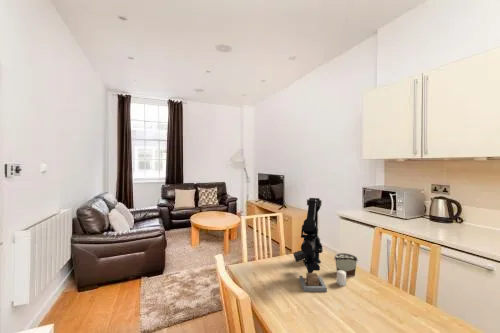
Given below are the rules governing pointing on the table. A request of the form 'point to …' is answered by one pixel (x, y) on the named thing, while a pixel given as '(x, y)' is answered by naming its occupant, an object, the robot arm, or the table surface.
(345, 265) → the food container
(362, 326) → the table surface
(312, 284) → the walnut block
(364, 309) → the table surface
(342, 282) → the white rounded cylinder
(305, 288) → the grey bay
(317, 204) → the robot arm
